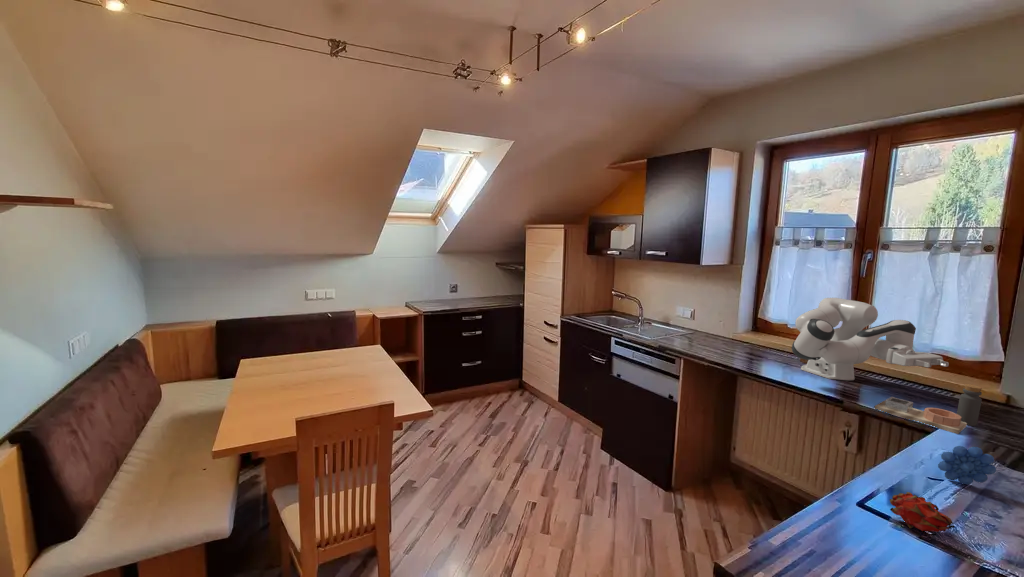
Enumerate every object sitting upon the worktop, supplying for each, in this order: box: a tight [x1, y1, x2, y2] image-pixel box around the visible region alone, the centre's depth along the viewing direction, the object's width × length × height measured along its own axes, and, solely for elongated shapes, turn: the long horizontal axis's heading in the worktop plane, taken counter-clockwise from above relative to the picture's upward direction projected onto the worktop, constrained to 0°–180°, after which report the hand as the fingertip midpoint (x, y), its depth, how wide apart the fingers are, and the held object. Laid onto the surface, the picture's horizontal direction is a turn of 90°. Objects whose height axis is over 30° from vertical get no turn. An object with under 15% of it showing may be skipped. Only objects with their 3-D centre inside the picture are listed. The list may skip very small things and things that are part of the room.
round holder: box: [923, 407, 962, 426], centre depth 170 cm, size 10×10×3 cm
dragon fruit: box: [889, 491, 955, 533], centre depth 109 cm, size 8×8×12 cm
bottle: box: [956, 383, 983, 427], centre depth 172 cm, size 6×6×15 cm
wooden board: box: [874, 399, 968, 435], centre depth 176 cm, size 25×12×2 cm, turn 35°
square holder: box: [885, 396, 914, 413], centre depth 181 cm, size 7×7×3 cm
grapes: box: [937, 445, 997, 486], centre depth 129 cm, size 12×7×12 cm, turn 54°
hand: (938, 365), depth 181 cm, fingers open, 8 cm apart
